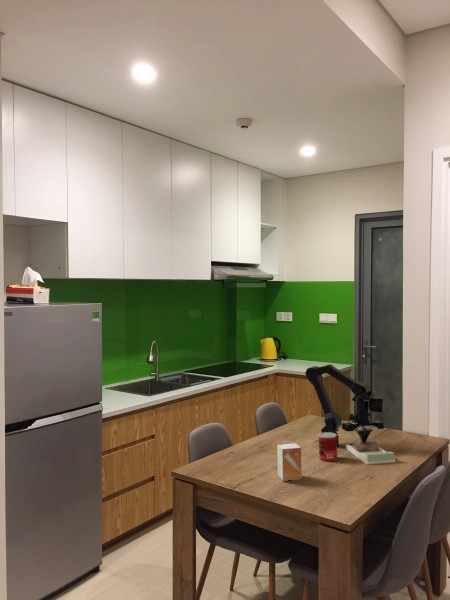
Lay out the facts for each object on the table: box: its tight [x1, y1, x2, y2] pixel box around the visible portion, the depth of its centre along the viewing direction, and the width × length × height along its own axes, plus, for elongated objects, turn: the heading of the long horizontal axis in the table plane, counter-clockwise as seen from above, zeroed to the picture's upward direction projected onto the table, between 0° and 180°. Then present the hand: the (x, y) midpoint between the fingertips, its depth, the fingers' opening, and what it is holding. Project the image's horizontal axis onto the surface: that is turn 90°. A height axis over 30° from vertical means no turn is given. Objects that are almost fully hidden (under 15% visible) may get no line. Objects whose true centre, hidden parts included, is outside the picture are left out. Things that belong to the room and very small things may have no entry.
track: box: [345, 443, 396, 465], centre depth 230 cm, size 13×24×4 cm, turn 8°
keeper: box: [352, 441, 380, 452], centre depth 233 cm, size 10×4×3 cm, turn 98°
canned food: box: [318, 432, 338, 463], centre depth 225 cm, size 8×8×11 cm
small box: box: [276, 443, 303, 482], centre depth 203 cm, size 8×6×13 cm
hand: (363, 444), depth 236 cm, fingers closed
